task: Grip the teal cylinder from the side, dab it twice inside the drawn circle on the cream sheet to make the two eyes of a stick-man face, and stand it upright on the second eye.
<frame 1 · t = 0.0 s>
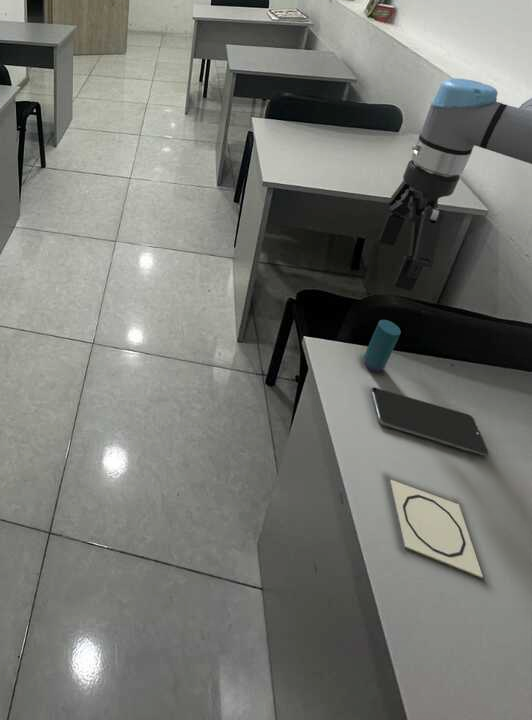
hand: (393, 263, 91), 19 cm above the table, tool pointing down, fingers open, 13 cm apart
smartphone: (424, 423, 82), on the table
drawing sheet: (432, 525, 68), on the table
teal cylinder: (372, 365, 92), on the table
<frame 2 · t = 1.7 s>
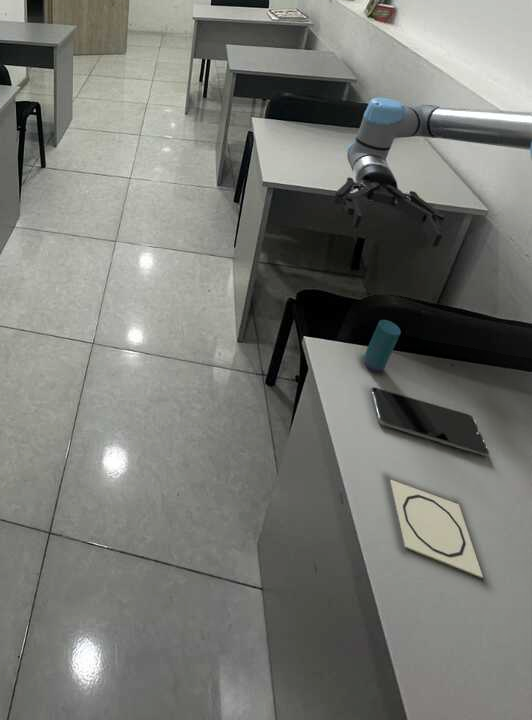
hand: (396, 231, 92), 24 cm above the table, tool horizontal, fingers open, 13 cm apart
nothing on the table moved.
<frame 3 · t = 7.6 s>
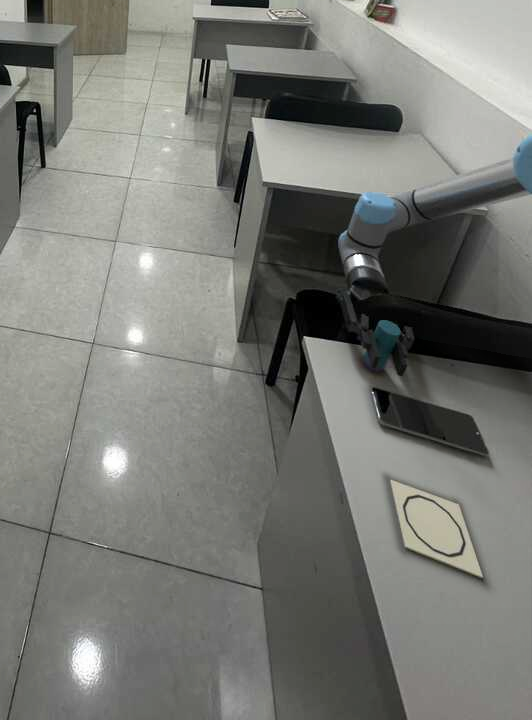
hand: (389, 366, 85), 6 cm above the table, tool horizontal, fingers closed on teal cylinder, 4 cm apart
teal cylinder: (372, 365, 92), on the table, touching gripper
everything else where it was.
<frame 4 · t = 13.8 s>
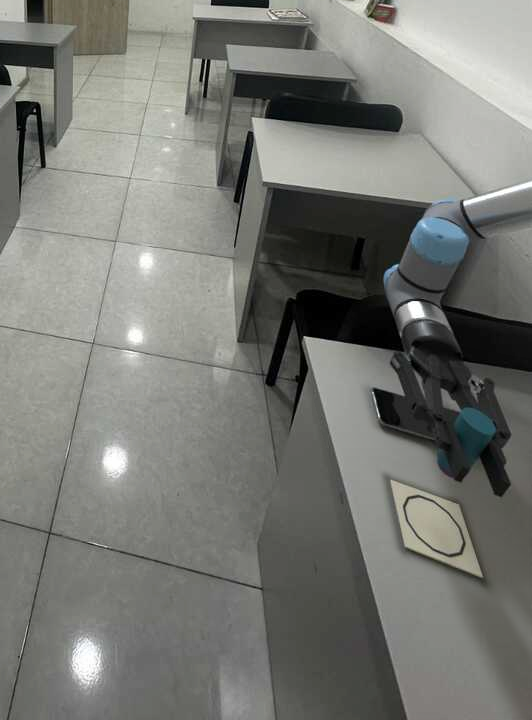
hand: (482, 481, 59), 16 cm above the table, tool horizontal, fingers closed on teal cylinder, 4 cm apart
teal cylinder: (448, 468, 66), point 10 cm above the table, touching gripper
everything else where it was.
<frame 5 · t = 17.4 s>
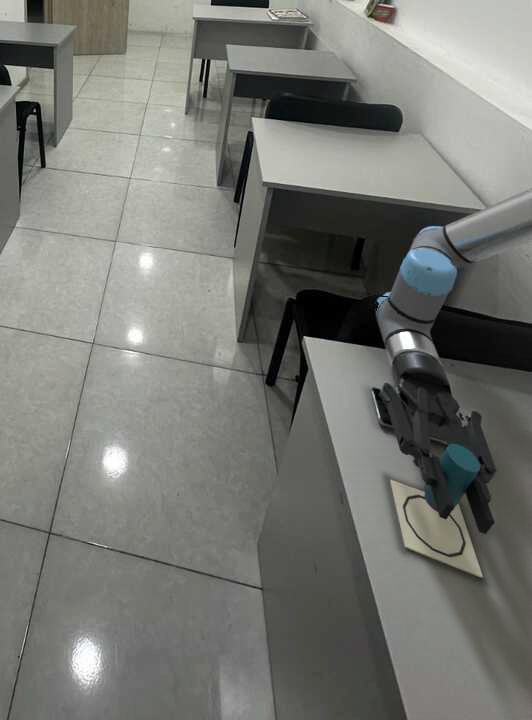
hand: (466, 519, 60), 10 cm above the table, tool horizontal, fingers closed on teal cylinder, 4 cm apart
teal cylinder: (435, 502, 67), point 4 cm above the table, touching gripper
everything else where it was.
when the fingers open (6 cm above the table, at t = 20.2 s): teal cylinder stays where it is, resting on drawing sheet.
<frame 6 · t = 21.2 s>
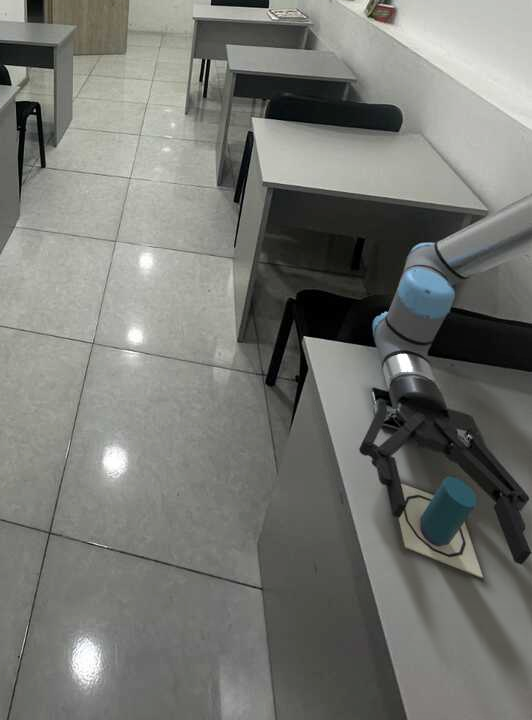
hand: (459, 534, 61), 7 cm above the table, tool horizontal, fingers open, 13 cm apart
teal cylinder: (431, 534, 67), resting on drawing sheet
everything else where it was.
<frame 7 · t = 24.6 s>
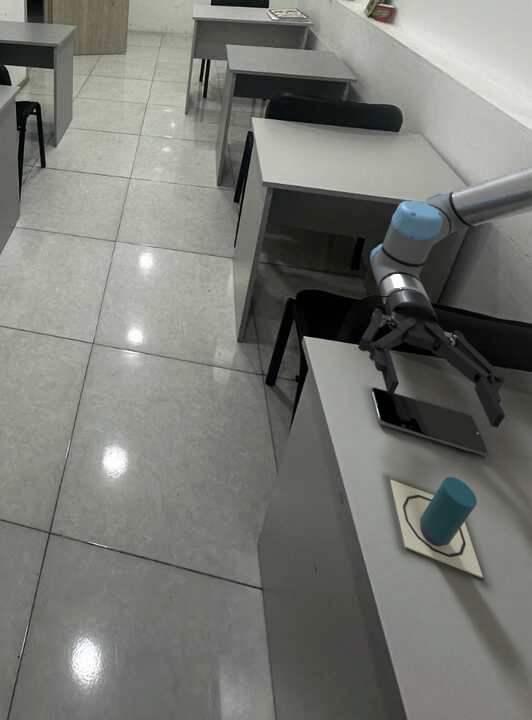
hand: (444, 404, 71), 13 cm above the table, tool horizontal, fingers open, 13 cm apart
nothing on the table moved.
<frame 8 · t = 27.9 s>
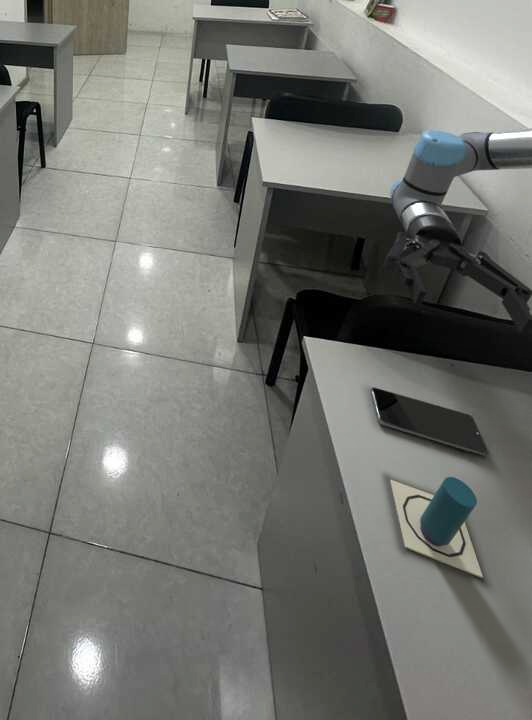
hand: (472, 312, 71), 26 cm above the table, tool horizontal, fingers open, 13 cm apart
nothing on the table moved.
at the end: teal cylinder 1.6 cm off-centre on the drawing sheet, point 0.3 cm above the drawing sheet's base; teal cylinder tilted 0°; the gripper is holding nothing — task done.
